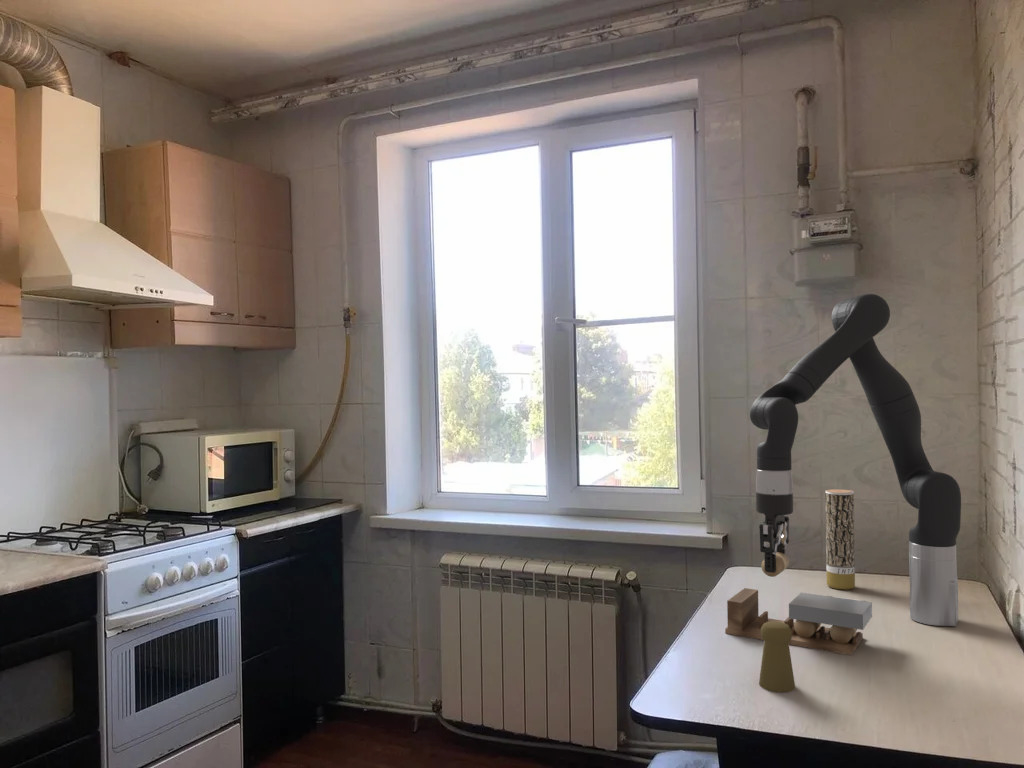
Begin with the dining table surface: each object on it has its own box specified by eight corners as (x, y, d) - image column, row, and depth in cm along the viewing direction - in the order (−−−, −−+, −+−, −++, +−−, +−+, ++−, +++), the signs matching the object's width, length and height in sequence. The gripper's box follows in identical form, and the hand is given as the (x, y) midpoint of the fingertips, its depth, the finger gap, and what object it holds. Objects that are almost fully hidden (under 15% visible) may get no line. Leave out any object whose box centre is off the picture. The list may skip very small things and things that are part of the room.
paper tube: (820, 585, 200) (819, 490, 200) (839, 582, 203) (838, 488, 203) (842, 591, 194) (840, 493, 194) (861, 588, 197) (859, 491, 197)
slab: (872, 616, 157) (871, 602, 157) (863, 629, 148) (862, 614, 148) (801, 606, 164) (801, 592, 164) (789, 618, 156) (788, 603, 156)
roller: (788, 571, 164) (789, 553, 164) (780, 578, 159) (780, 559, 159) (769, 568, 166) (770, 550, 166) (761, 575, 161) (761, 556, 161)
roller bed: (864, 638, 158) (863, 604, 158) (853, 655, 148) (852, 619, 148) (743, 618, 173) (742, 587, 173) (725, 633, 163) (725, 600, 163)
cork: (766, 676, 138) (765, 615, 138) (800, 684, 135) (799, 622, 135) (753, 686, 134) (752, 624, 134) (788, 695, 130) (787, 630, 130)
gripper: (783, 496, 155) (784, 578, 155) (801, 487, 167) (801, 564, 166) (746, 493, 159) (747, 573, 159) (766, 485, 171) (767, 560, 171)
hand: (775, 568), depth 163 cm, fingers closed on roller, 6 cm apart
